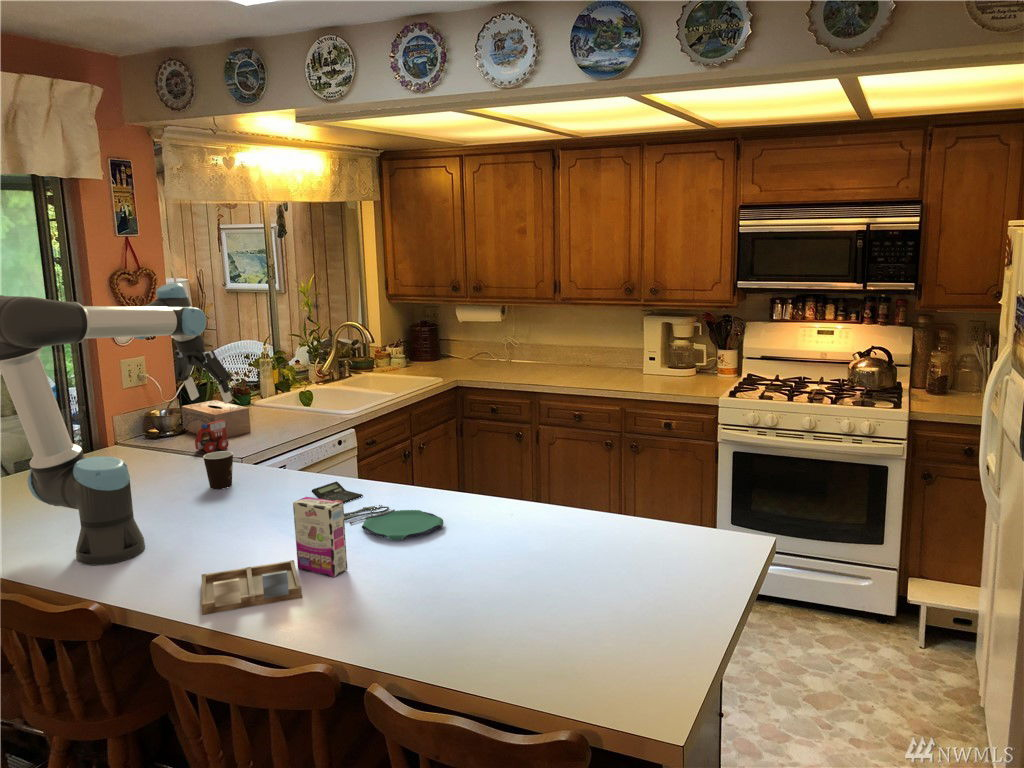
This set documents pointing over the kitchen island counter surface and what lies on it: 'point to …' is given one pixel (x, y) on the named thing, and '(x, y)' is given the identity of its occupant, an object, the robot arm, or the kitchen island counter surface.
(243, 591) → the divided tray
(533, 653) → the kitchen island counter surface
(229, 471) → the coffee mug
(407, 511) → the cutlery set
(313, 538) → the candy bar box
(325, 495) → the calculator
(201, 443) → the toy fire truck
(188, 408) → the tissue box cover
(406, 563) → the kitchen island counter surface
